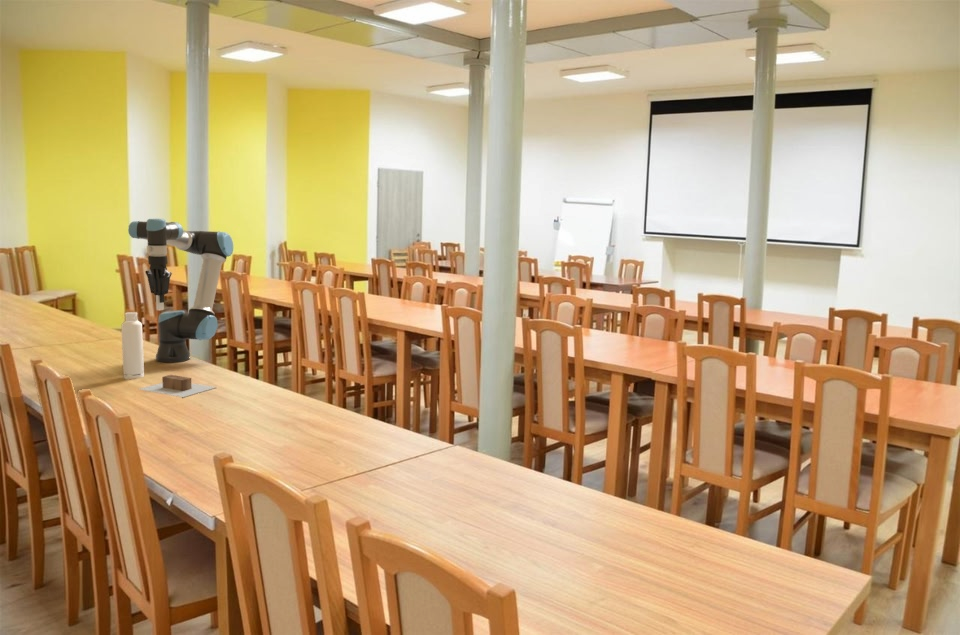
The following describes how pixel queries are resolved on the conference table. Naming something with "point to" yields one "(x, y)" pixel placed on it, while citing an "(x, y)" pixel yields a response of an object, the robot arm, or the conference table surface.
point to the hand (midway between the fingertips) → (160, 309)
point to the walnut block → (177, 382)
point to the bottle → (132, 347)
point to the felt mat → (195, 390)
